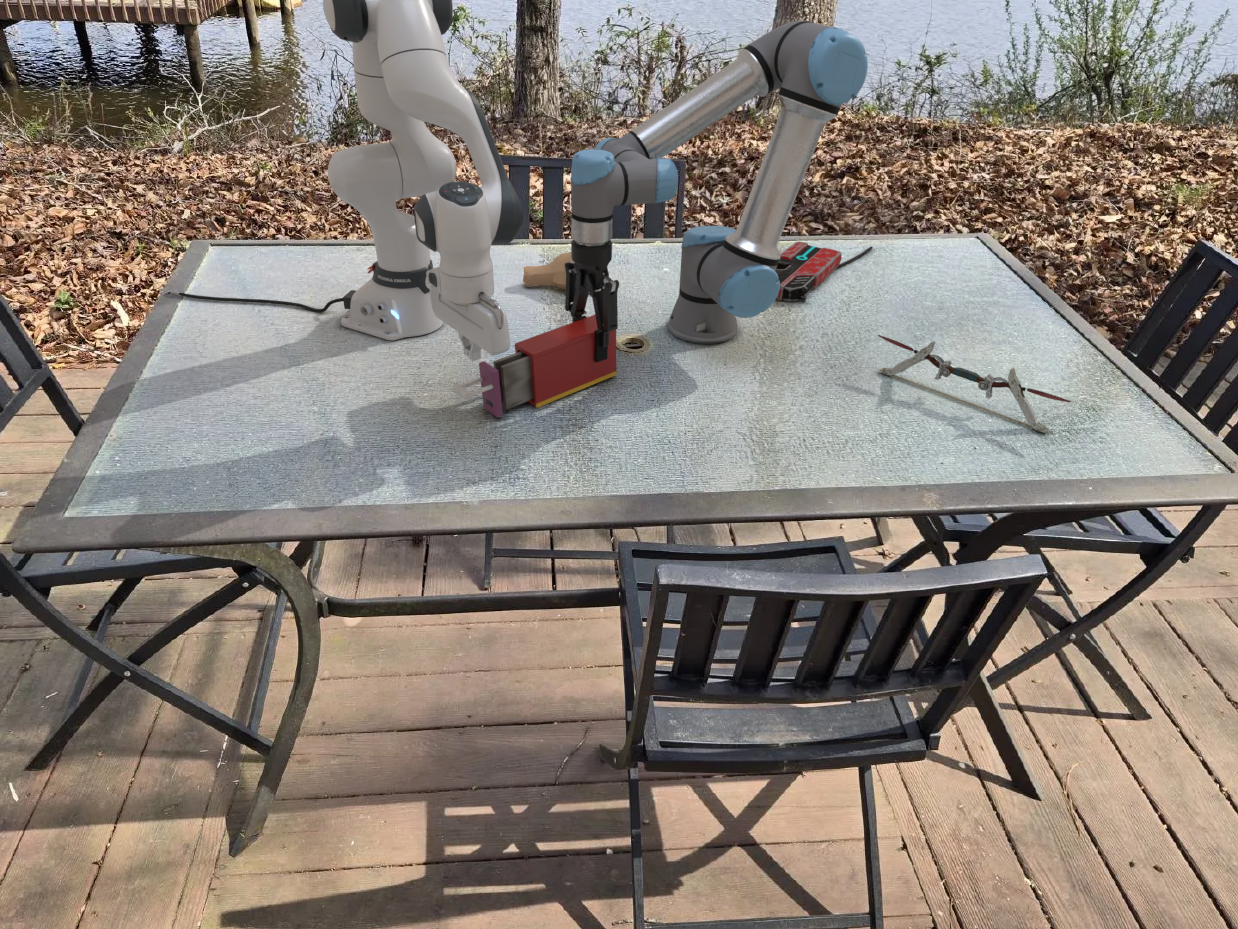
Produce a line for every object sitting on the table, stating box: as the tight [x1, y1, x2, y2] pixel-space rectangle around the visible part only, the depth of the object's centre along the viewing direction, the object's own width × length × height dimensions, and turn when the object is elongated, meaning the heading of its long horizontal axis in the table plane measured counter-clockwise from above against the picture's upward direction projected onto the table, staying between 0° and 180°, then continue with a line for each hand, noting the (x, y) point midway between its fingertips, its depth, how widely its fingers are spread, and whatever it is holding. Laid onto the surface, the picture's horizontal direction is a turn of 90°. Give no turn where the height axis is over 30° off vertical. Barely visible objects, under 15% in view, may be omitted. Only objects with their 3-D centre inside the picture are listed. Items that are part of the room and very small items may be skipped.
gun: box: [775, 241, 843, 303], centre depth 223 cm, size 4×31×19 cm
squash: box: [522, 251, 573, 291], centre depth 213 cm, size 11×20×9 cm, turn 90°
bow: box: [877, 334, 1072, 434], centre depth 169 cm, size 39×2×10 cm, turn 47°
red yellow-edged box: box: [514, 314, 618, 409], centre depth 170 cm, size 20×6×11 cm, turn 130°
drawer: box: [451, 351, 534, 419], centre depth 164 cm, size 25×5×10 cm, turn 130°
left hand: (472, 357), depth 155 cm, fingers closed
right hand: (590, 353), depth 173 cm, fingers closed on red yellow-edged box, 6 cm apart
